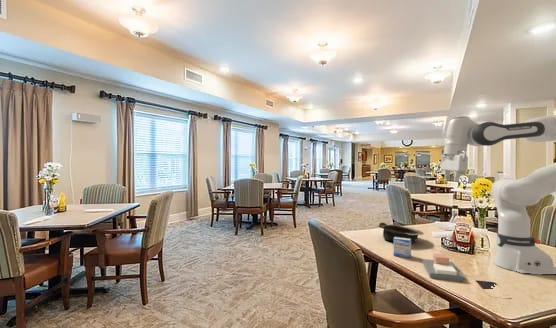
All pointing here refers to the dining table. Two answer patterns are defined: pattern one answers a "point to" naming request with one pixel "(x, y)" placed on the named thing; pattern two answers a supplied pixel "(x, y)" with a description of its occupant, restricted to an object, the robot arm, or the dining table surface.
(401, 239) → the medicine box
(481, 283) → the smartphone
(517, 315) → the dining table surface
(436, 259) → the stub
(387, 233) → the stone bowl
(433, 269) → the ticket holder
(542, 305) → the dining table surface
